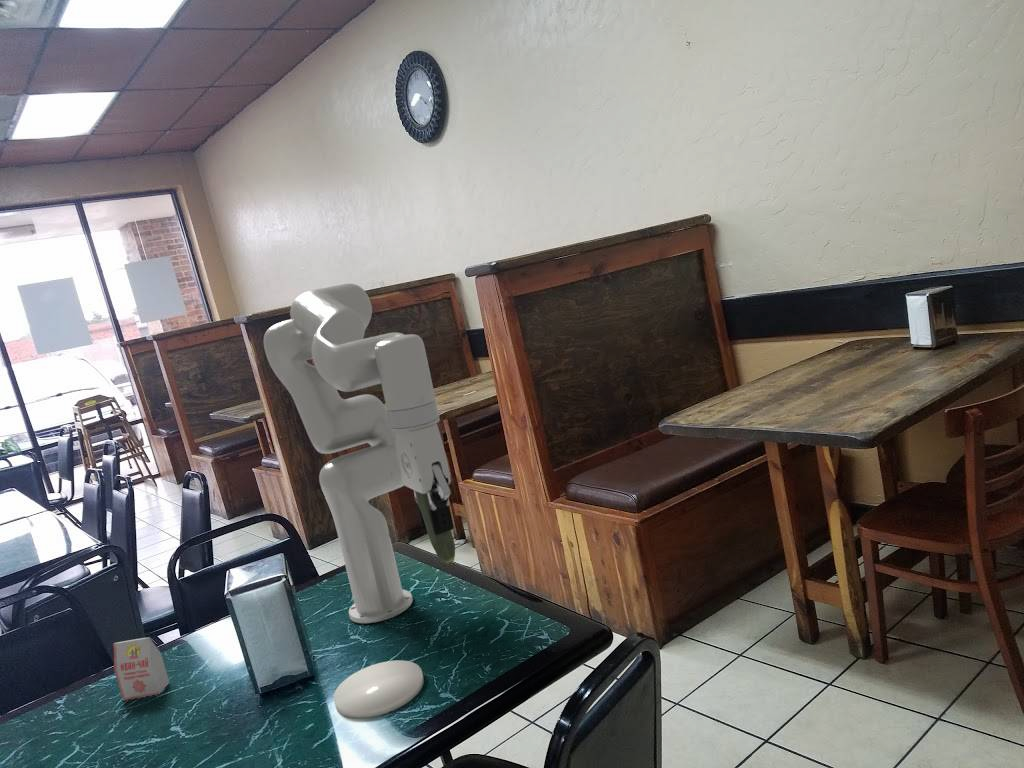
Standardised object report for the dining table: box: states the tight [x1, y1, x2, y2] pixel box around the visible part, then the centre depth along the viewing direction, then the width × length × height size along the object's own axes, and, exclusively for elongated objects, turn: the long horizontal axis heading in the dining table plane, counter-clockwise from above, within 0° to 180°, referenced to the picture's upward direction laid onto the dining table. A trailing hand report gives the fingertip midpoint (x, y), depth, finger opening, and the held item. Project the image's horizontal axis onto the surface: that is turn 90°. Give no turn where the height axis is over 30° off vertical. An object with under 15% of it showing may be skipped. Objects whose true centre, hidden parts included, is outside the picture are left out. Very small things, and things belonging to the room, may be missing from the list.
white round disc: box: [333, 659, 425, 719], centre depth 123 cm, size 14×14×1 cm
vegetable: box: [415, 484, 456, 565], centre depth 122 cm, size 4×4×20 cm
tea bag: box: [112, 636, 170, 701], centre depth 138 cm, size 4×7×10 cm, turn 87°
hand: (437, 527), depth 122 cm, fingers closed on vegetable, 4 cm apart
